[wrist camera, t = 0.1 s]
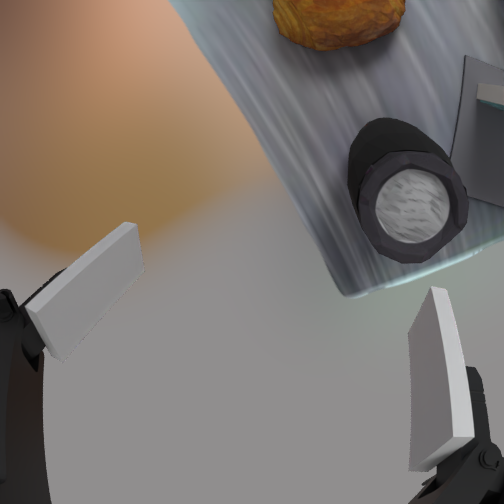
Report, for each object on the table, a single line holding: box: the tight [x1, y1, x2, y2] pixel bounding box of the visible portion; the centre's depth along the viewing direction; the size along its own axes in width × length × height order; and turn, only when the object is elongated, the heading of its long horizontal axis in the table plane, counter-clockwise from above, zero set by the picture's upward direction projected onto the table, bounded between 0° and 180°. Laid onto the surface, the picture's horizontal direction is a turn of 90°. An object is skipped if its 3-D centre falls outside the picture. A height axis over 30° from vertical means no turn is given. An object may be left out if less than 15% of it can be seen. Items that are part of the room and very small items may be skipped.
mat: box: [450, 55, 504, 207], centre depth 27 cm, size 18×14×1 cm
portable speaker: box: [347, 118, 469, 264], centre depth 25 cm, size 9×9×20 cm
